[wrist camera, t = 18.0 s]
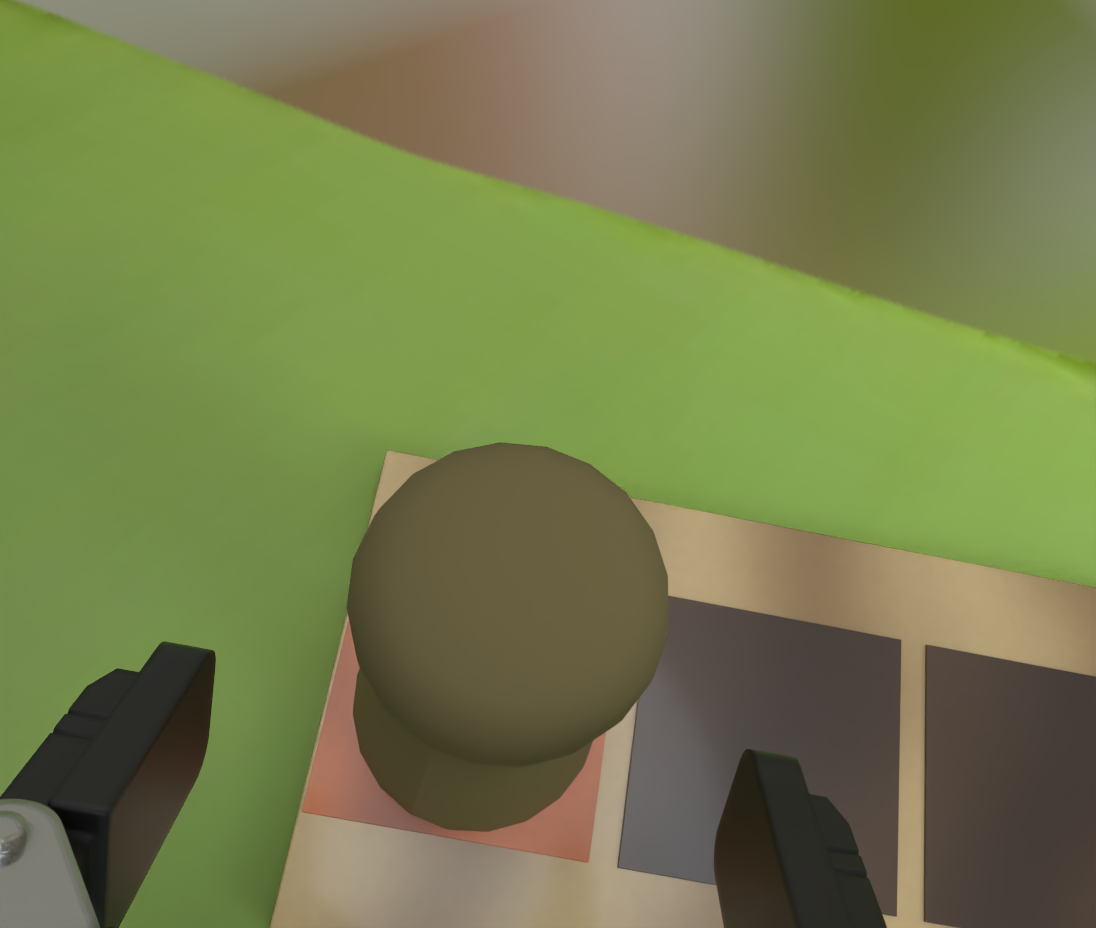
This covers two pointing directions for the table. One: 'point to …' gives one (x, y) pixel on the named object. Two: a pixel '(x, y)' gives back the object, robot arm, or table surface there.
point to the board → (765, 725)
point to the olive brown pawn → (500, 631)
